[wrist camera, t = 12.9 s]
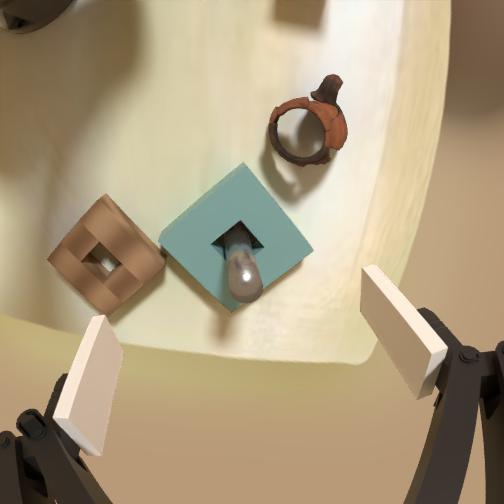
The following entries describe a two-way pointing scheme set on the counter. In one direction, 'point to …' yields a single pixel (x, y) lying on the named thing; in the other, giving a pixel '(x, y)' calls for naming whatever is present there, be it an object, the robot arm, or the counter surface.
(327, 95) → the brown ring with knob
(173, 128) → the counter surface
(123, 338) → the counter surface
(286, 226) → the dock socket
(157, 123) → the counter surface
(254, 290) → the pin
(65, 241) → the pin mount
